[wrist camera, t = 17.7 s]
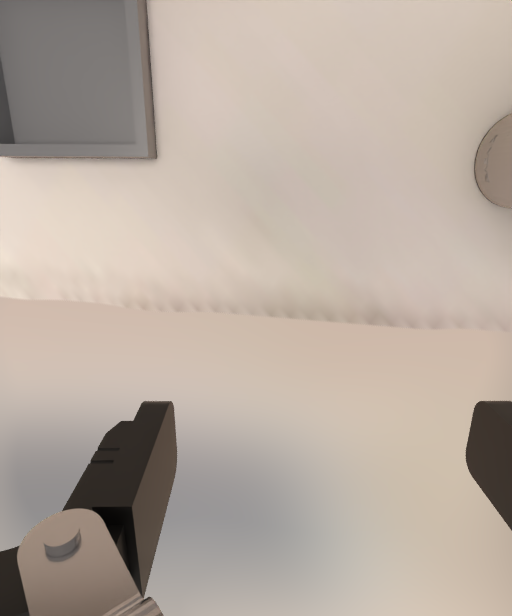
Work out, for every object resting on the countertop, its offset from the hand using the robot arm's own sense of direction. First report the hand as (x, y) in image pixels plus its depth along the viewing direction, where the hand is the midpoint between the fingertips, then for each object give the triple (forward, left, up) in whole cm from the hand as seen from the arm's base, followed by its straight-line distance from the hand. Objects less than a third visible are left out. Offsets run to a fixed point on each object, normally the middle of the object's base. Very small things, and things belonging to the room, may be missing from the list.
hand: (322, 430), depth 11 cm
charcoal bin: (+18, -15, -33) cm, 40 cm away
